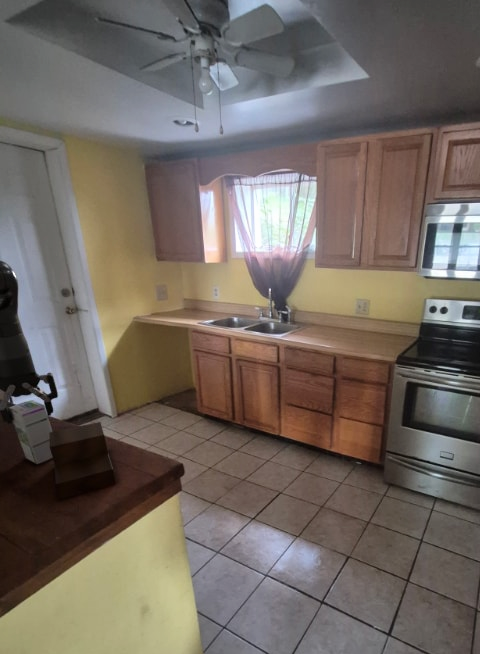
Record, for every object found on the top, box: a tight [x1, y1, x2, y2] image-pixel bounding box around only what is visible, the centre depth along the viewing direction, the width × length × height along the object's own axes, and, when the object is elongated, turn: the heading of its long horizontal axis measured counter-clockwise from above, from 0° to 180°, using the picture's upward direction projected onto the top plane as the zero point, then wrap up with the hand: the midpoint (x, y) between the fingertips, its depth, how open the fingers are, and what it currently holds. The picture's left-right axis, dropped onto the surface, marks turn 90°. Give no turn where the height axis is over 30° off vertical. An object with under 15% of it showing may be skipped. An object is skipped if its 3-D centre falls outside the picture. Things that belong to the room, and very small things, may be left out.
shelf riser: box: [50, 421, 117, 500], centre depth 87 cm, size 11×16×9 cm
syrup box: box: [8, 400, 53, 465], centre depth 92 cm, size 6×6×14 cm
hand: (30, 418), depth 91 cm, fingers closed on syrup box, 7 cm apart
